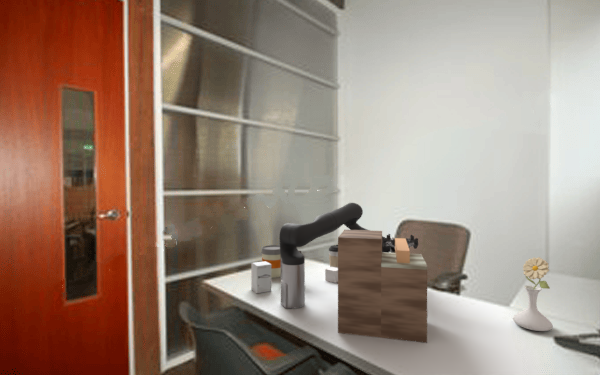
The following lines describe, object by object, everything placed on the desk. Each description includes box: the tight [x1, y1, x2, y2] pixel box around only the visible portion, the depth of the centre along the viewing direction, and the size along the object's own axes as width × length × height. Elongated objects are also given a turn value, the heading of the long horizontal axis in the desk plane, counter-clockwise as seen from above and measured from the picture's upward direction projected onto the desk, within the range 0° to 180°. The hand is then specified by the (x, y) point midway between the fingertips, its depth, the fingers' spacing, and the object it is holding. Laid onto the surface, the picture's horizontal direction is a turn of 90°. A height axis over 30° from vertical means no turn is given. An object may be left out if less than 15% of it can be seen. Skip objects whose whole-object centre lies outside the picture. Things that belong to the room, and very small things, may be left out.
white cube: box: [324, 266, 338, 284], centre depth 171 cm, size 6×6×6 cm
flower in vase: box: [512, 256, 554, 332], centre depth 115 cm, size 13×11×25 cm
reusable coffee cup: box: [261, 244, 281, 279], centre depth 180 cm, size 13×13×15 cm
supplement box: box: [250, 261, 272, 294], centre depth 155 cm, size 7×7×13 cm
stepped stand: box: [337, 229, 428, 344], centre depth 117 cm, size 18×28×32 cm, turn 76°
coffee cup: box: [328, 244, 338, 268], centre depth 185 cm, size 9×9×15 cm
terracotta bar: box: [394, 237, 411, 263], centre depth 121 cm, size 24×4×4 cm, turn 166°
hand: (400, 236), depth 134 cm, fingers open, 8 cm apart
